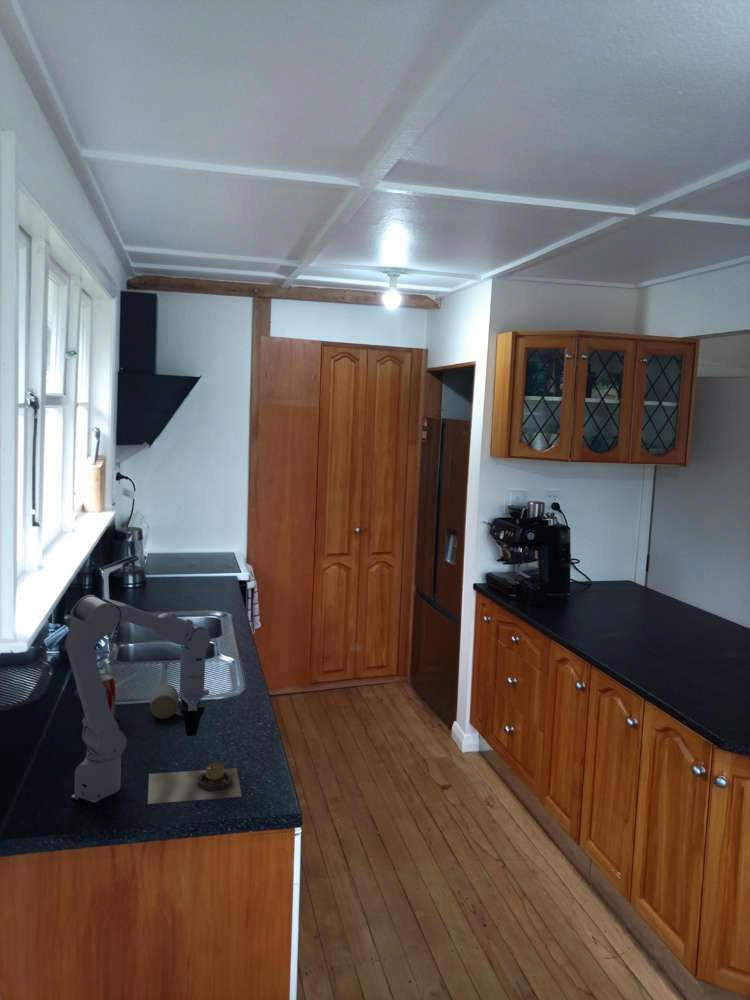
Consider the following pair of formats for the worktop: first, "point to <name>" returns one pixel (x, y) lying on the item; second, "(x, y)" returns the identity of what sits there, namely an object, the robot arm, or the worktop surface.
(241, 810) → the worktop surface
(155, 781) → the jig board
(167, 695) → the ceramic mug
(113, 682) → the soda can
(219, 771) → the brass fitting
